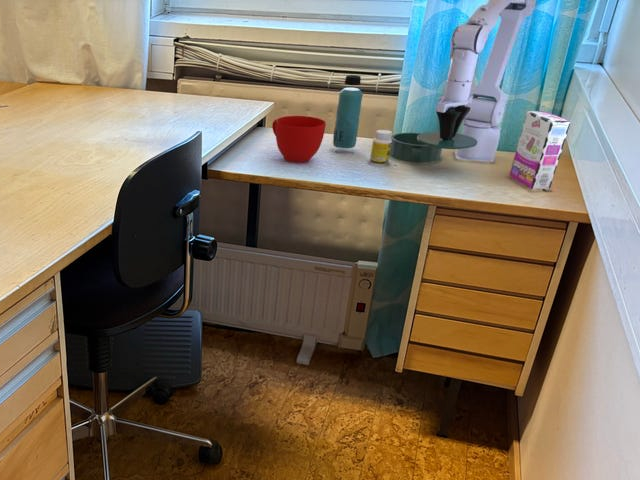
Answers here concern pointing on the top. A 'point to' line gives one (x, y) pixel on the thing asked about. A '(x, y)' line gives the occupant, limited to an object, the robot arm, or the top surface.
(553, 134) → the candy bar box
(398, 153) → the pot
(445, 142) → the lid
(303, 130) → the ceramic cup
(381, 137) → the supplement bottle
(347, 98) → the beverage bottle
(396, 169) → the top surface
